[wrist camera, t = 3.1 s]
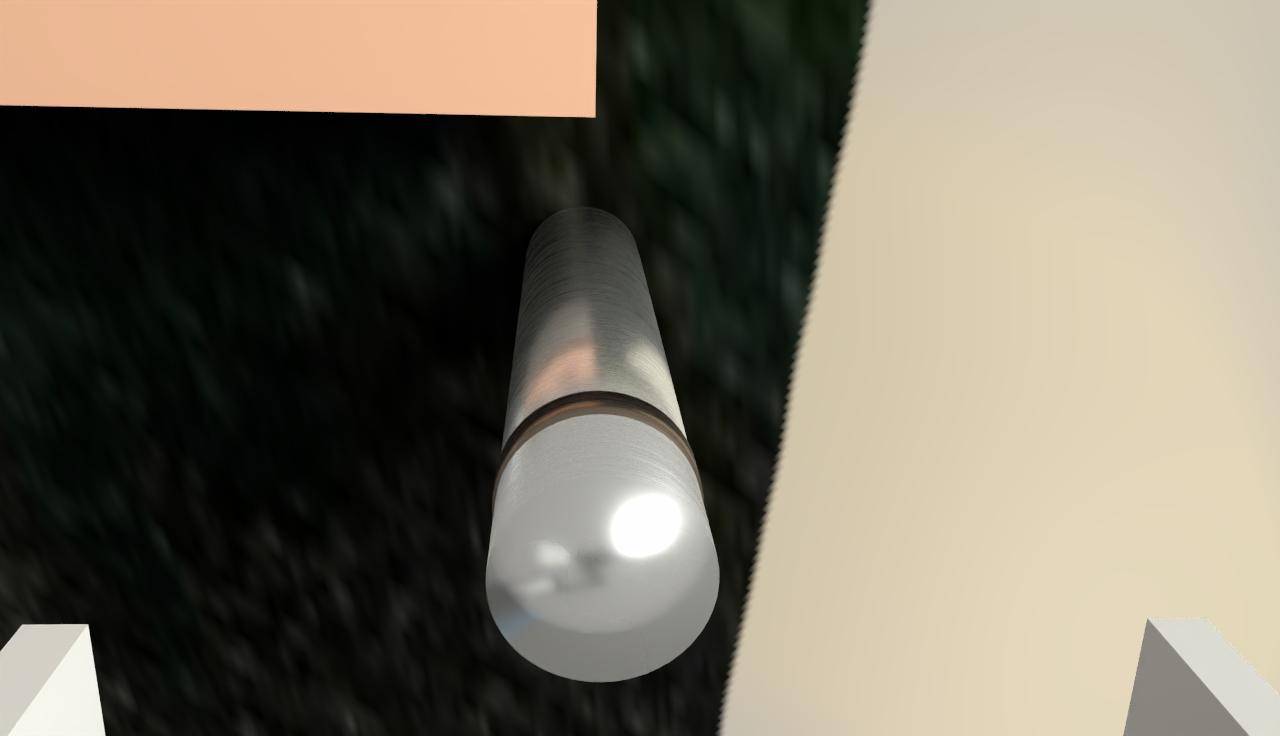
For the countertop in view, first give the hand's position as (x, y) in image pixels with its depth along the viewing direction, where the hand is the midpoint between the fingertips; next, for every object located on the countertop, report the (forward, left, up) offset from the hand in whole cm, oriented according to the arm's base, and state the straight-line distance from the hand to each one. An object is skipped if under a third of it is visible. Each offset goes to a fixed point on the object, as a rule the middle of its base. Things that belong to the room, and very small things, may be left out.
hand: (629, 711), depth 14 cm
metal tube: (0, 0, -24) cm, 24 cm away
